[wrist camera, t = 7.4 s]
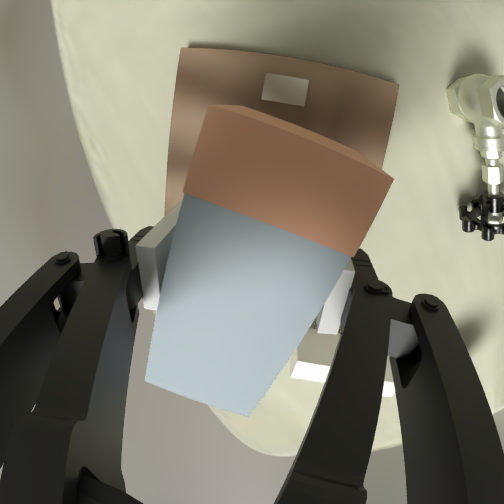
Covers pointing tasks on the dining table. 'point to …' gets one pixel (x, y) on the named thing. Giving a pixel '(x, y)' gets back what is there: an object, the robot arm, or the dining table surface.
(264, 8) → the dining table surface
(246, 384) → the blue-orange block
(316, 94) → the board
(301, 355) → the white stepped block
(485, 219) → the valve
